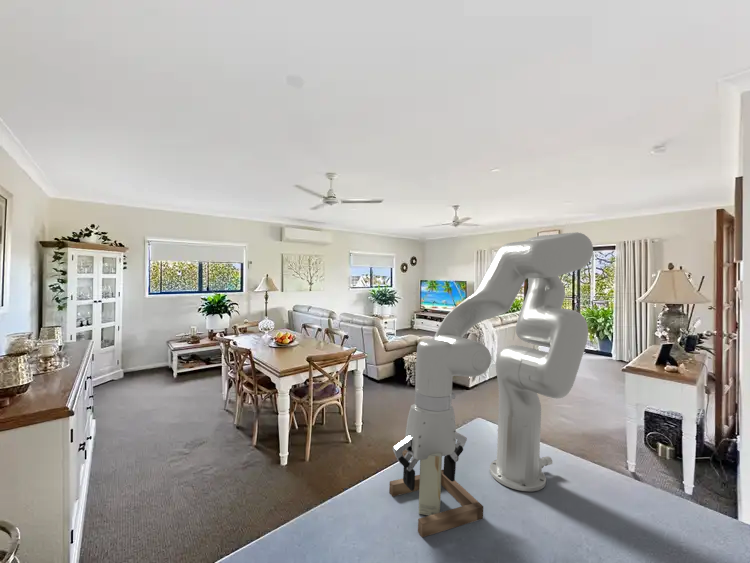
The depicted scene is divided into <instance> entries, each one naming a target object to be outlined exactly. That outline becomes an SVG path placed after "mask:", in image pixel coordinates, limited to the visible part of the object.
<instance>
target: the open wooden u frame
mask: <svg viewBox="0 0 750 563" xmlns="http://www.w3.org/2000/svg"><path fill="white" fill-rule="evenodd" d="M419 486H420V474H417V475H416V474H415V489H414V490H413V491H411V490H410V489H409V488H408V487H407V486H406V485H405V483H404V481H403V478H400V479H399V478H397V479H395V480H390V481H389V490H388V491H389V494H390V496H391V497H395V496H396V497H397V496H401V495H405V494H409V493H412V492H417V491H419ZM441 487H443V489H445V491H446V492H448V493H449V494H450V495H451V497H453V498H454V500H456V502H458V503H459V504H460V505H461V506H459V507H455V508H451V509H448V510H444V511H440V513H437V514H433V515H425V516H423V517H419V518H418V520H417V521H418V522H417V533H418V534H419V536H420V537H421V538H424V537H425V538H426V537H428V536H432V535H435V534H439V533H442V532H444V531H448V530H451V529H455V528H458V527H461V526H464V525H467V524H471V523H474V522H477V521H480V520H484V505H483V504H482V503H481V502H479V501H478V500H477V499H476V498H475V497H474V496H473V495H472V494H471V493H469V491H468V490H466V489H465V488H464V487H463V486H462V485H461V484H459V482H458V481H457V480H455V481H450V480H449V479H448V478H447V477H446V476H445V475H444V469H441Z"/></svg>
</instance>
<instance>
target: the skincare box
mask: <svg viewBox="0 0 750 563" xmlns="http://www.w3.org/2000/svg"><path fill="white" fill-rule="evenodd" d="M419 461H420V462H419V475H420V486H419V490H418V491H419V492H418V493H419V494H418V495H419V496H418V514H419V515H425V516H429V515H433V514H437V513H440V512H441V498H442V497H441V494H442V490H441V489H442V485H441V470H442V469H443V468H442V467H443V466H442V463H443V462H442V461H443V456H442V453H436V454H431V455H429V456H428V458H427V459H424V460H419Z"/></svg>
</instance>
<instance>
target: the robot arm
mask: <svg viewBox="0 0 750 563" xmlns="http://www.w3.org/2000/svg"><path fill="white" fill-rule="evenodd" d="M593 254H594V246H593V242H592V241H591V239H590V238H589V237H588V235H586V234H584V233H583V232H566V233H555V234H547V235H539V236H537V235H536V236H533V237H529V238H527V239H526V240H522V241H514V242H508V243H505V244H504V245H502V246H500V248H499V249H497V251H496V253H495V254H494V256H493V258H492V260H491V262H490V263H489V265H488V268H487V270H486V271H485V273H484V275H483V277H482V278H481V280H480V282H479V284H478V285H477V288H476V290H475V291H474V292H473V293H472V294H471V295H469V296H468V297H467V298H465V299H464V300H463V301H461V302H460V303H459V304H458V305H456V306H455V307H454V308H453V309H451V310H450V312H448V313H447V315H446V316H445V317H444V319H443V320H442V322H441V323H440V325H439V327H438V329H437V331H436V332H435V334H434V336H433V338H432V339H429V338H428V339H423V340H420V341H419V342H418V344H417V346H416V361H415V363H416V364H415V366H416V367H415V386H414V387H415V388H414V389H415V390H414V403H413V404H411V405H410V409H409V411H408V415H407V419H406V427H405V436H404V439H402V440H400V442H398V443H397V444H395V445H394V446H393V447H392V451H393V454H394V456H395V460H396V461H398V463H400V465H402V466H403V471H402V472H403V476H402V479H403V481H404V483H405V485H406V486H407V487H408V488H409V489H410V490H411V491H413V490H414V489H415V476H416V471H415V469H414V468H415V467H416V465H417V463H418V462H419V461H420V460H424V459H427V458H428V456H429V455H431V454H436V453H442V457H443V470H444V475H445V476H446V477H447V478H448V479H449V480H450V481H456V480H455V479H456V468H457V467H456V466H457V462H459V460H460V458H459V457H460V455H461V454H462V453H463V451H464V447H465V445H466V443H467V440H468V439H467V437H466V436H464V435H463V434H461V433H459V432H457V425H456V416H455V409H454V407H453V405H452V400H454V399H456V393H455V392H453V377H454V376H457V377H458V376H459V377H469V378H472V377H479V376H481V375H483V374H484V373H486V372H487V371H488V370H489V368H490V366H491V363H492V355H491V354H492V353H491V352H490V350H489V348H488V347H487V346H486V345H485V344H483V343H481V342H479V341H478V340H477V341H476V340H474V339H473V340H472V339H470V338H466V337H464V336H465V335H466V334H467V333H468V332H469V331H470V329H472V328H473V327H474V326H475V325H477V324H479V323H482V322H484V321H486V320H489V319H492V318H496V317H498V316H501V315H504V314H506V313H508V312H509V310H511V309H512V306H513V304H514V302H515V300H516V298H517V296H518V294H519V292H520V290H521V288H522V286H523V284H524V283H525V281H526V280H528V288H527V291H526V294H525V298H524V300H523V303H522V306H521V308H520V311H519V314H518V317H517V321H516V324H515V333H516V337H518V339H519V340H521V341H523V342H525V343H529V344H532V345H536V346H540V347H545V348H548V351H544V350H539V349H537V348H531V347H528V346H523V345H507V346H504V347H503V348H502V349H501V350H500V351H498V353H497V355H496V359H495V371H496V377H497V378H496V379H497V386H498V416H497V418H498V419H497V439H496V440H497V443H496V459H495V460H493V461H492V462H491V463H490V465H489V472H490V475H491V477H492V478H493V479H494V480H496V481H497V482H498V483H499V484H501V485H503V486H505V487H506V488H510V489H512V490H516V491H520V492H538V491H540V490H542V489H543V488H545V487H546V482H547V477H546V475H545V473H543V471H542V470H543V469H544V467H547V466H551V465H552V464H553V459H552V457H551V456H549V455H547V456H542V457H540V453H541V429H542V428H541V425H542V422H541V421H542V405H541V400H540V397H539V395H541V396H545V397H548V398H551V399H555V400H557V399H563V398H564V397H566V396H567V395H568V394H569V393H570V391H571V390H572V388H573V386H574V384H575V381H576V378H577V375H578V371H579V368H580V366H581V363H582V359H583V355H584V352H585V349H586V346H587V342H588V338H589V328H588V323H587V320H586V319H585V317H584V316H583V314H581V313H580V312H579V311H576V310H574V309H568V308H562V307H563V304H564V300H565V295H566V290H565V285H564V282H562V280H561V278H560V277H559V276H563V275H566V274H569V273H572V272H576V271H579V270H581V269H583V268H585V267H586V266H587V265H588V264H589V263H590V261H591V259H592V257H593ZM538 394H539V395H538ZM404 451H406V454H405V455H404Z"/></svg>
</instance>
